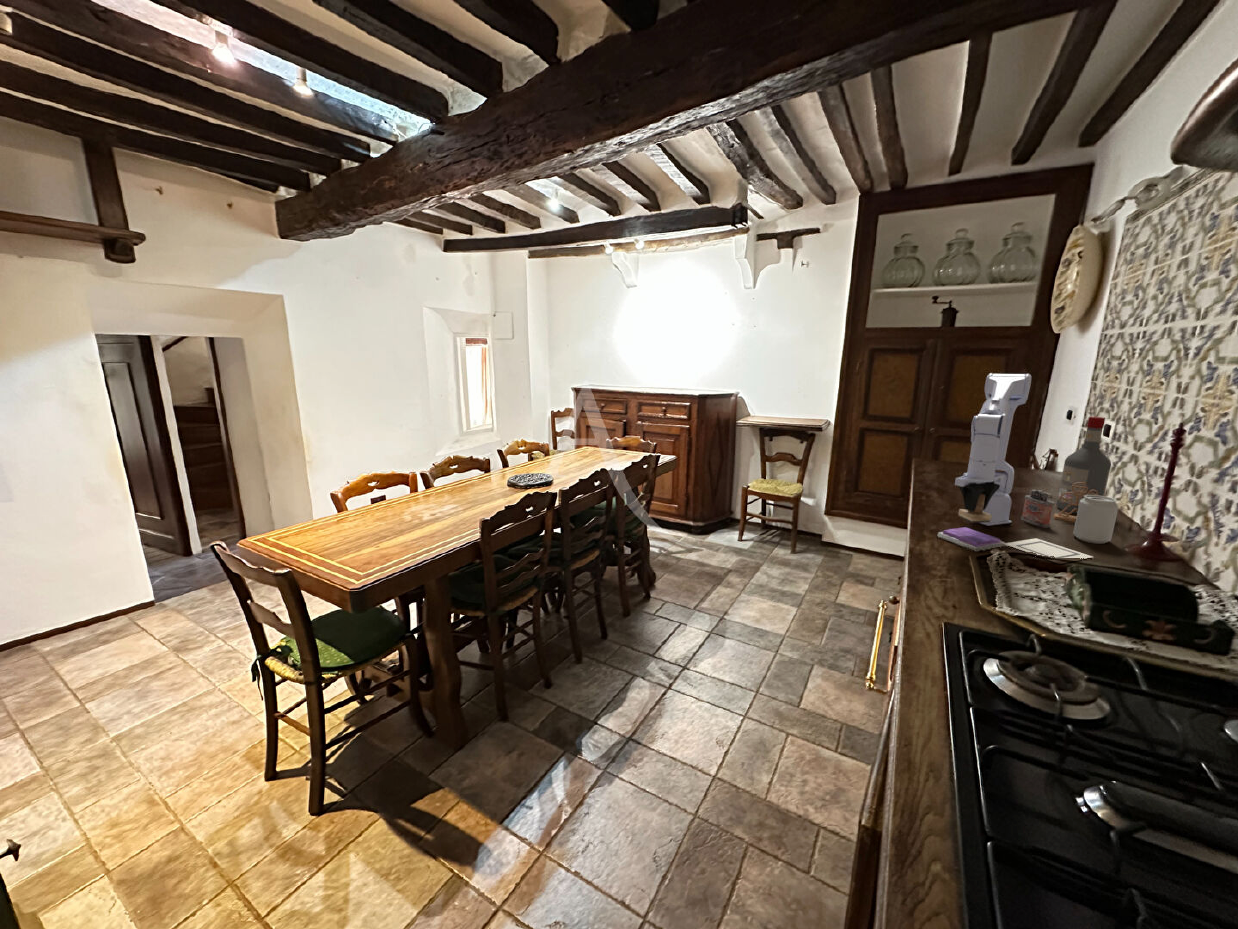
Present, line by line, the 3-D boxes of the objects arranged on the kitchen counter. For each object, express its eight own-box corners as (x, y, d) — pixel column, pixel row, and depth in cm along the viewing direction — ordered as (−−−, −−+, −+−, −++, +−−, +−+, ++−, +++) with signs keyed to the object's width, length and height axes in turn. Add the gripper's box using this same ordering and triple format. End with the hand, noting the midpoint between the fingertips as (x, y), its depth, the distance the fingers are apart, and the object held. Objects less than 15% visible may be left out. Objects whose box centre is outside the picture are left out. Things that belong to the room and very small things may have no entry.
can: (1100, 536, 133) (1109, 494, 130) (1117, 546, 126) (1127, 502, 123) (1066, 533, 135) (1075, 492, 133) (1081, 543, 128) (1090, 500, 126)
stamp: (976, 516, 131) (980, 491, 130) (990, 522, 127) (994, 496, 125) (958, 516, 131) (961, 491, 130) (971, 522, 126) (975, 497, 125)
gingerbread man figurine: (1053, 519, 147) (1061, 481, 144) (1053, 516, 150) (1060, 478, 147) (1094, 525, 141) (1102, 486, 139) (1092, 521, 144) (1100, 483, 142)
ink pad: (964, 532, 137) (965, 525, 136) (1004, 546, 127) (1005, 539, 126) (937, 536, 134) (938, 529, 134) (975, 551, 124) (976, 544, 123)
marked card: (1035, 539, 131) (1036, 537, 131) (1093, 558, 119) (1093, 556, 119) (1003, 545, 128) (1003, 543, 128) (1058, 564, 116) (1059, 562, 116)
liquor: (1072, 514, 151) (1092, 419, 144) (1051, 505, 159) (1069, 415, 153) (1105, 515, 149) (1126, 419, 143) (1082, 506, 158) (1101, 415, 151)
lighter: (1017, 518, 148) (1023, 487, 145) (1027, 518, 148) (1033, 487, 146) (1042, 527, 140) (1048, 494, 138) (1053, 527, 140) (1059, 494, 138)
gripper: (988, 455, 131) (980, 502, 134) (947, 459, 127) (940, 507, 130) (1015, 460, 124) (1006, 510, 128) (973, 464, 121) (965, 516, 124)
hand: (975, 509), depth 128 cm, fingers closed on stamp, 3 cm apart
